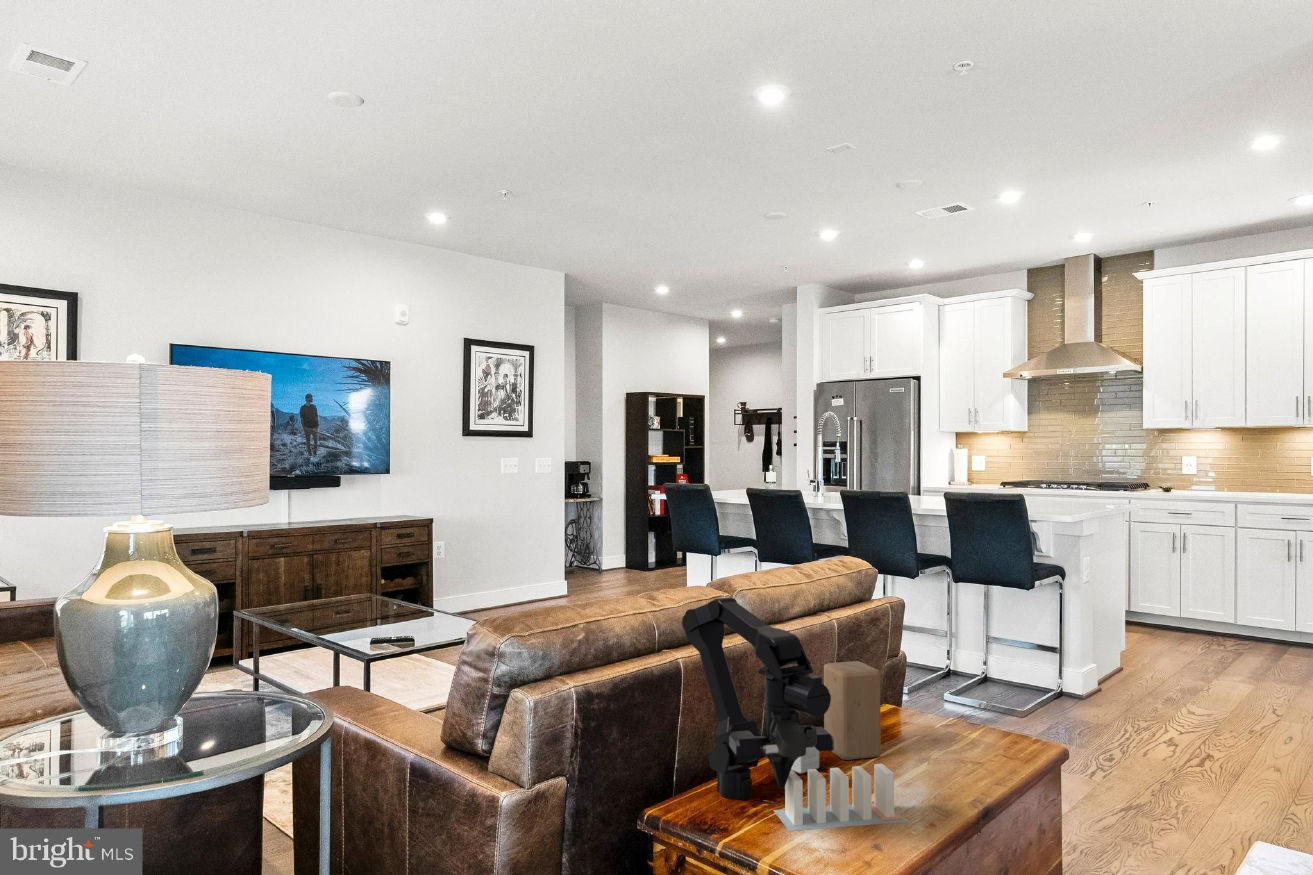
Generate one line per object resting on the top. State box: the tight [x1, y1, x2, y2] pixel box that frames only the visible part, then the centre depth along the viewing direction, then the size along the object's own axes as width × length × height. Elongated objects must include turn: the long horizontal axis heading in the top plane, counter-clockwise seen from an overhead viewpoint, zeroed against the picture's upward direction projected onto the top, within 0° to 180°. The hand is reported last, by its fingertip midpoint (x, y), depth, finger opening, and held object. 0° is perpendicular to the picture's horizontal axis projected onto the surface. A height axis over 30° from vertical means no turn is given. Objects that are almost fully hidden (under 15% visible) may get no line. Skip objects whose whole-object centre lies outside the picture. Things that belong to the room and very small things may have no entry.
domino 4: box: [851, 765, 872, 820], centre depth 155 cm, size 2×5×8 cm, turn 10°
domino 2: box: [807, 769, 827, 824], centre depth 153 cm, size 2×5×8 cm, turn 10°
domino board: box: [773, 802, 908, 832], centre depth 154 cm, size 23×9×1 cm, turn 100°
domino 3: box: [829, 767, 850, 822], centre depth 154 cm, size 2×5×8 cm, turn 10°
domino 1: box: [784, 770, 804, 825], centre depth 153 cm, size 2×5×8 cm, turn 10°
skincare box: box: [791, 746, 820, 774], centre depth 182 cm, size 6×6×7 cm
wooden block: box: [823, 660, 882, 761], centre depth 191 cm, size 10×10×20 cm
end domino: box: [873, 763, 895, 817], centre depth 156 cm, size 2×5×8 cm, turn 10°
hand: (781, 787), depth 152 cm, fingers closed
